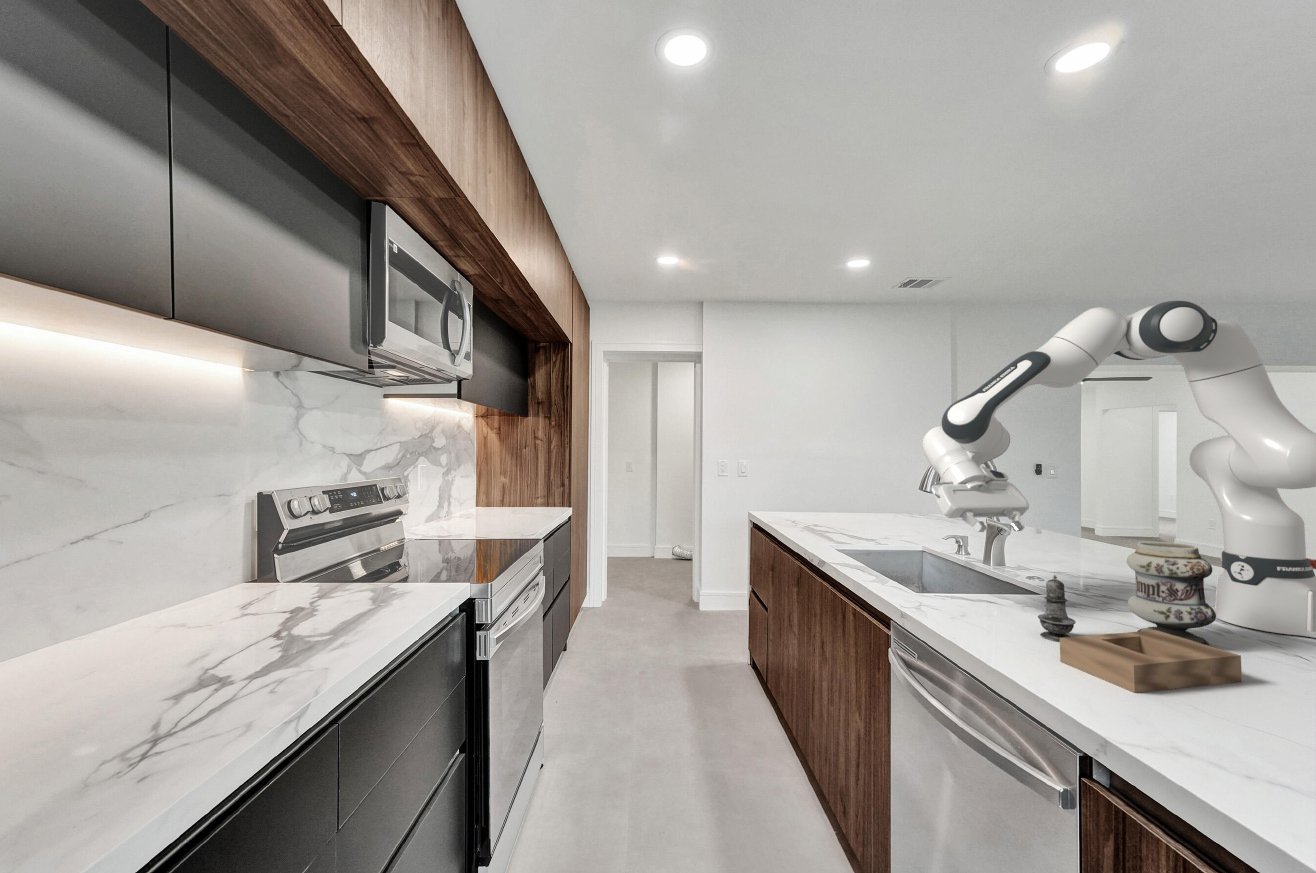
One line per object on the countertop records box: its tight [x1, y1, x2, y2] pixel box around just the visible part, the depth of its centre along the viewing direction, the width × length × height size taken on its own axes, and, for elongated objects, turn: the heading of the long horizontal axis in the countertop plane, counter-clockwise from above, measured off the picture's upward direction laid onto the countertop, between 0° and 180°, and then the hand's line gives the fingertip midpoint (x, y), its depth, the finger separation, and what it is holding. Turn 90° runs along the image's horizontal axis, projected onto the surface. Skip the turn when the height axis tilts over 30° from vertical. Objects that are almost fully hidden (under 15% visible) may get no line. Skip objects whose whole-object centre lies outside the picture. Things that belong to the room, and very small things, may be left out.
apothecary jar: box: [1126, 541, 1217, 646], centre depth 101 cm, size 12×12×18 cm
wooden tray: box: [1059, 630, 1243, 694], centre depth 86 cm, size 20×12×4 cm, turn 100°
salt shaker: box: [1037, 574, 1076, 643], centre depth 102 cm, size 6×6×12 cm
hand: (1001, 530), depth 115 cm, fingers open, 8 cm apart
